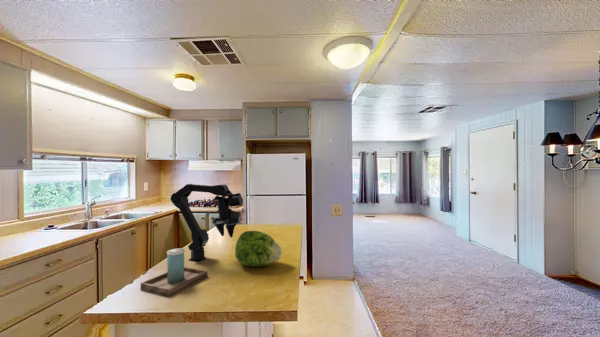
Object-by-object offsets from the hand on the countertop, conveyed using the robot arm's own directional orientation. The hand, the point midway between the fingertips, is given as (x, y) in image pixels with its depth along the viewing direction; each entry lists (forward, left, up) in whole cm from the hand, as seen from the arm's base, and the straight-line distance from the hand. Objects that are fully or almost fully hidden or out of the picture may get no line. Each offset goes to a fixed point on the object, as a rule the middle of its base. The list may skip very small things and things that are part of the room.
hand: (227, 236), depth 135 cm
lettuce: (+20, 0, -13) cm, 24 cm away
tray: (-2, -31, -13) cm, 33 cm away
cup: (-2, -30, -12) cm, 33 cm away
